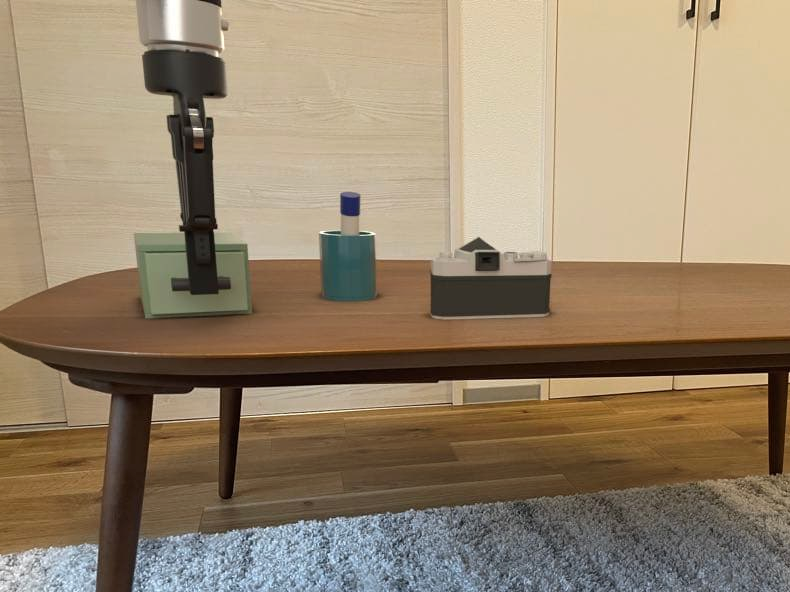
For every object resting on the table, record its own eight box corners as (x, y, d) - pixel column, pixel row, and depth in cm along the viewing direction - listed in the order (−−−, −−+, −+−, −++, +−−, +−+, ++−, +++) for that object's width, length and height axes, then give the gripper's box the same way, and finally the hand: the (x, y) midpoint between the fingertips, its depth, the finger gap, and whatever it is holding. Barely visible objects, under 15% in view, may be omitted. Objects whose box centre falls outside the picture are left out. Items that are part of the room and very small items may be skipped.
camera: (533, 307, 108) (536, 233, 105) (557, 319, 100) (561, 240, 97) (420, 310, 102) (420, 232, 99) (436, 323, 94) (436, 239, 91)
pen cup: (329, 304, 103) (326, 235, 101) (316, 295, 109) (313, 230, 107) (383, 302, 107) (382, 235, 104) (368, 293, 113) (366, 230, 110)
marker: (342, 295, 106) (343, 197, 99) (337, 288, 108) (338, 191, 101) (361, 294, 107) (363, 197, 101) (356, 287, 109) (357, 191, 103)
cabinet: (252, 315, 94) (247, 243, 92) (145, 320, 89) (137, 244, 86) (236, 297, 106) (231, 232, 103) (141, 300, 100) (133, 233, 98)
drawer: (253, 316, 89) (249, 257, 87) (153, 321, 84) (146, 258, 82) (233, 293, 103) (229, 241, 101) (146, 296, 98) (140, 242, 96)
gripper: (235, 50, 72) (251, 302, 79) (216, 62, 83) (232, 283, 90) (145, 41, 69) (171, 305, 76) (137, 55, 79) (160, 285, 86)
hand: (204, 293), depth 83 cm, fingers closed
